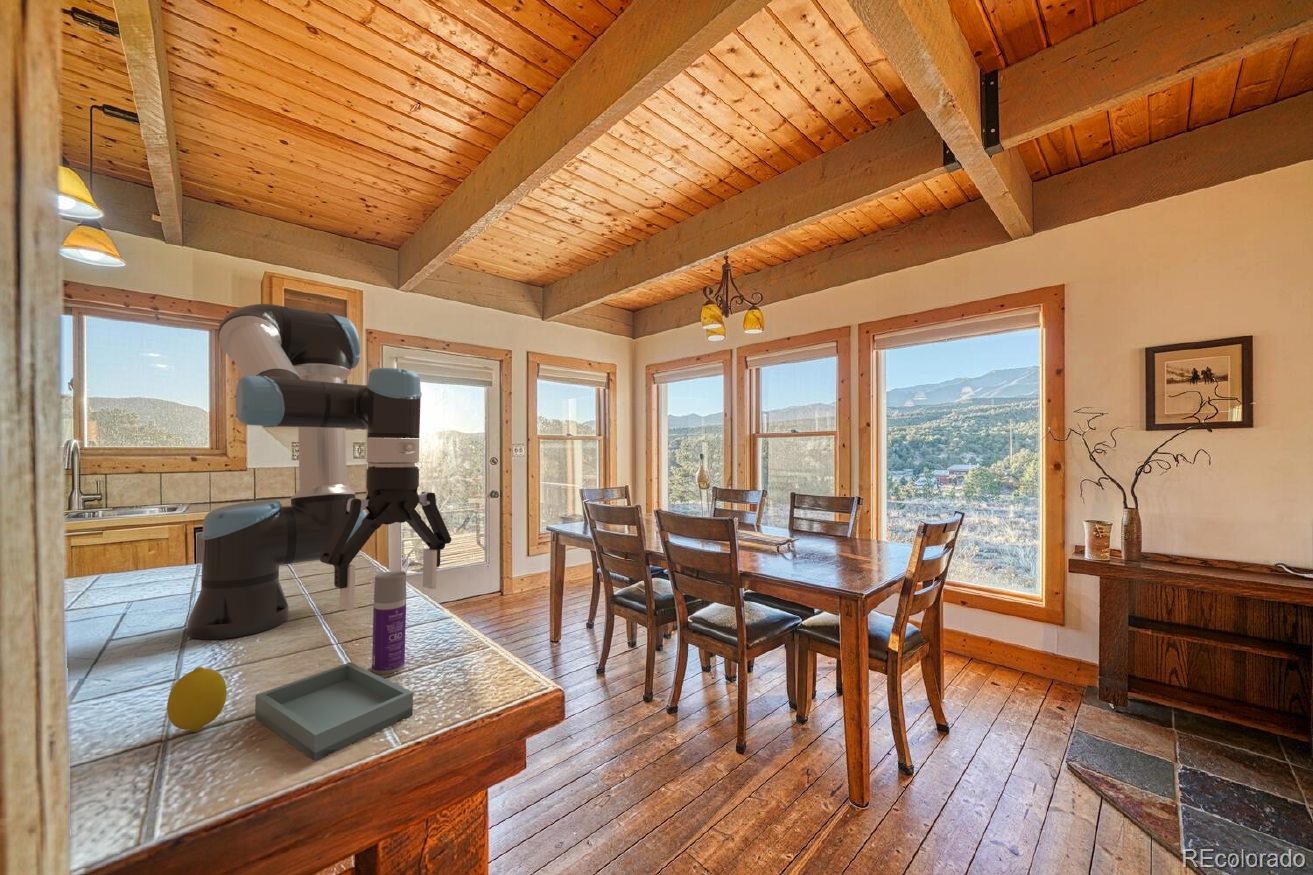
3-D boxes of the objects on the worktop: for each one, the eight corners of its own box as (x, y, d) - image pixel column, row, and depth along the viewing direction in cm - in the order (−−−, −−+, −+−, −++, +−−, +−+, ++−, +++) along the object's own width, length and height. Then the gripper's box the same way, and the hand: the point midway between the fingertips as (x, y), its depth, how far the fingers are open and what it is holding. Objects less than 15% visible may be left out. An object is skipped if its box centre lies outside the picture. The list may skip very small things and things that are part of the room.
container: (390, 675, 80) (393, 579, 80) (364, 672, 81) (367, 577, 81) (411, 662, 84) (413, 571, 84) (386, 659, 85) (388, 569, 85)
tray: (254, 717, 67) (255, 694, 67) (349, 681, 77) (350, 662, 77) (314, 761, 59) (315, 735, 59) (412, 714, 69) (413, 692, 69)
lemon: (191, 719, 66) (192, 658, 66) (236, 718, 67) (238, 657, 67) (153, 745, 61) (154, 678, 61) (202, 744, 61) (204, 677, 61)
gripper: (321, 468, 70) (317, 624, 70) (473, 463, 91) (471, 583, 91) (295, 466, 74) (292, 614, 74) (446, 462, 95) (444, 577, 95)
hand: (391, 597), depth 82 cm, fingers open, 13 cm apart
